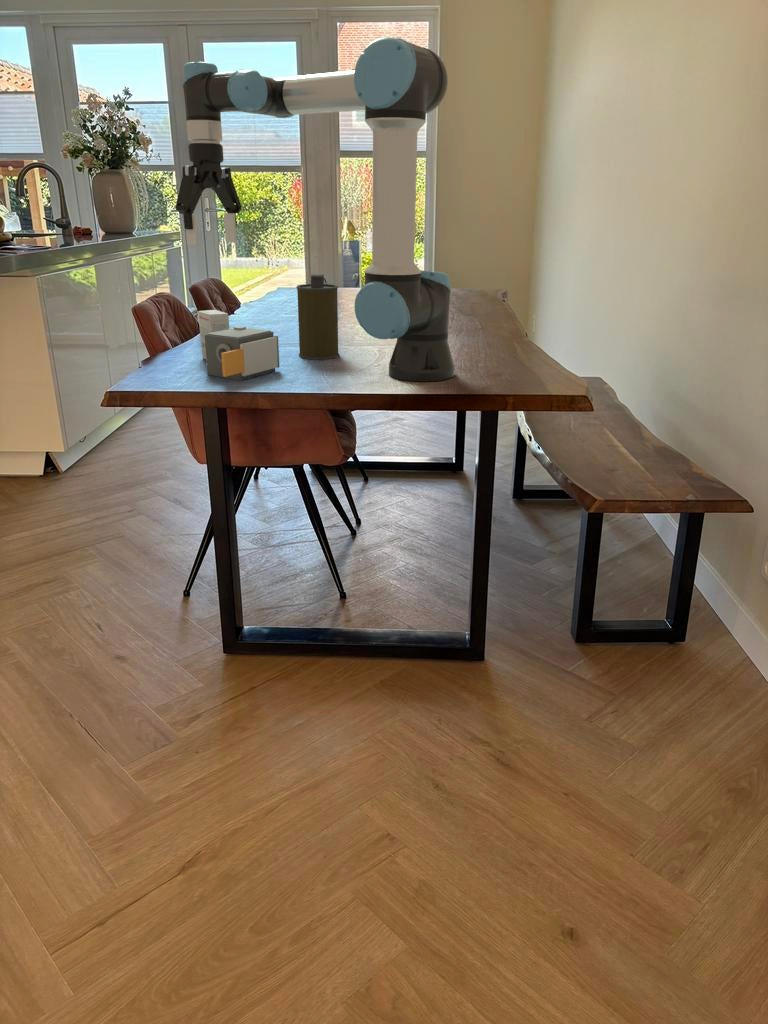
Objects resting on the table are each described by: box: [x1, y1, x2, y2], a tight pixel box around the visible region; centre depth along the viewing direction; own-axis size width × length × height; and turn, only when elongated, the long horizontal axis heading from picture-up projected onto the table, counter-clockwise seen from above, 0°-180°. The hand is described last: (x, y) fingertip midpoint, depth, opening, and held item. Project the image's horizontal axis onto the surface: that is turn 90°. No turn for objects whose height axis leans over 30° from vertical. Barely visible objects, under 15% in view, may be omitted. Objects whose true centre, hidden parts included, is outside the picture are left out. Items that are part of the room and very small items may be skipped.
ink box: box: [197, 309, 230, 361], centre depth 188 cm, size 9×5×12 cm, turn 33°
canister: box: [296, 273, 340, 361], centre depth 193 cm, size 11×10×20 cm
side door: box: [221, 335, 280, 378], centre depth 170 cm, size 1×18×7 cm, turn 148°
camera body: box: [205, 325, 276, 381], centre depth 175 cm, size 10×13×10 cm
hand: (212, 243), depth 178 cm, fingers open, 13 cm apart
